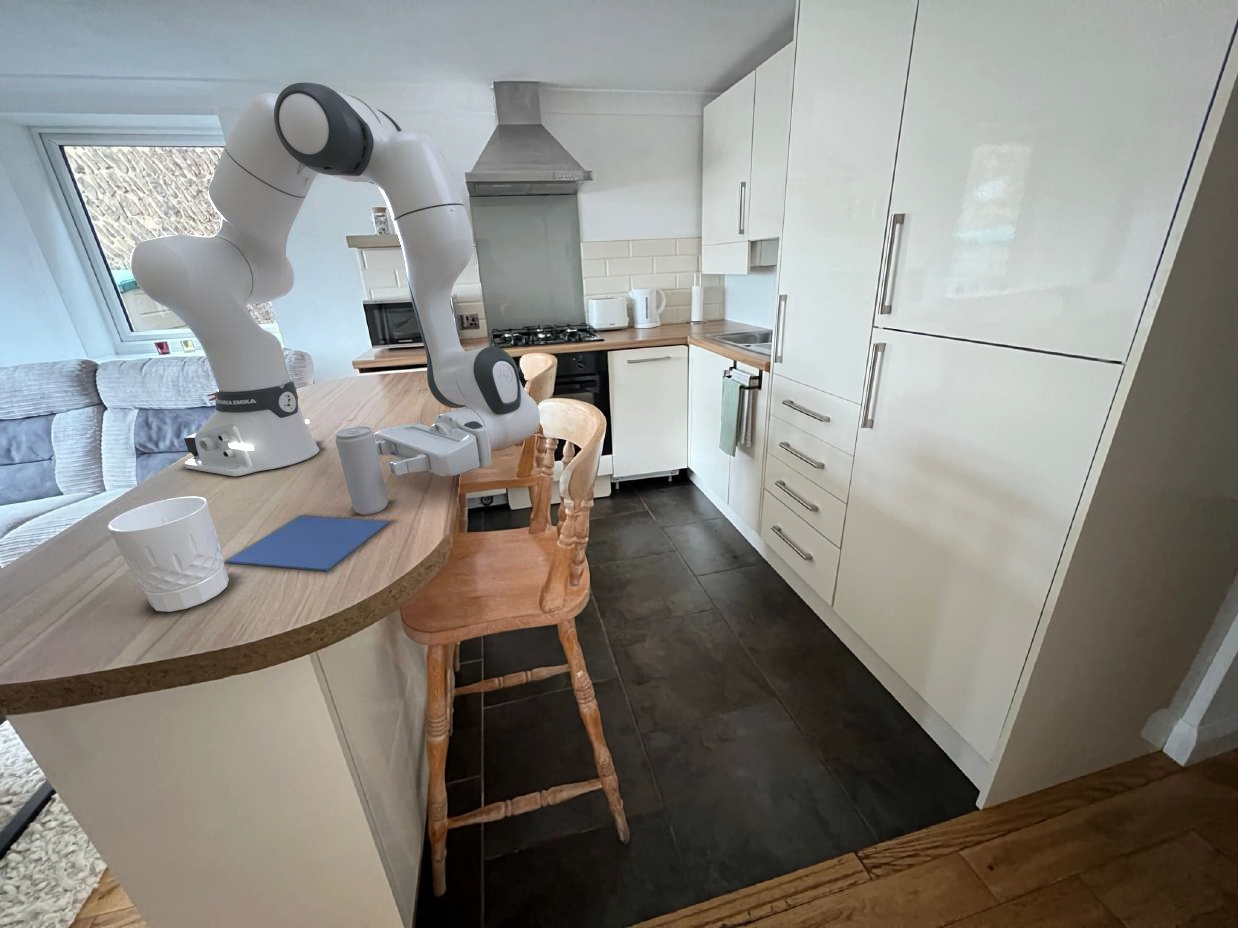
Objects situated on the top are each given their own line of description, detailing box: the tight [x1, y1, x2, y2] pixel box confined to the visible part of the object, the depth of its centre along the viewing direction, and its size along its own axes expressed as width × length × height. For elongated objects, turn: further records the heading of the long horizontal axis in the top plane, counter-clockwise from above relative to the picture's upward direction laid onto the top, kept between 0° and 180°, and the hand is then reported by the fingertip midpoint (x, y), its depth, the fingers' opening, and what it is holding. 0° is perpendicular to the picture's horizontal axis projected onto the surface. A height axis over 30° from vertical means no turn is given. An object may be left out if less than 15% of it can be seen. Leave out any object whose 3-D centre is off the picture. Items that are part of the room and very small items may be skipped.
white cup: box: [107, 496, 230, 613], centre depth 54 cm, size 8×8×10 cm
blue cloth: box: [225, 515, 389, 572], centre depth 66 cm, size 14×12×1 cm
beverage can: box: [335, 426, 389, 516], centre depth 72 cm, size 5×5×12 cm
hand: (376, 462), depth 74 cm, fingers open, 8 cm apart
